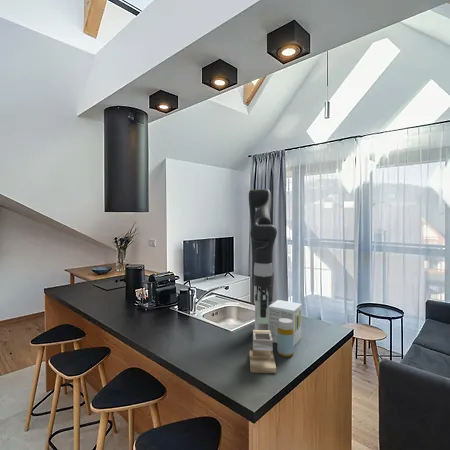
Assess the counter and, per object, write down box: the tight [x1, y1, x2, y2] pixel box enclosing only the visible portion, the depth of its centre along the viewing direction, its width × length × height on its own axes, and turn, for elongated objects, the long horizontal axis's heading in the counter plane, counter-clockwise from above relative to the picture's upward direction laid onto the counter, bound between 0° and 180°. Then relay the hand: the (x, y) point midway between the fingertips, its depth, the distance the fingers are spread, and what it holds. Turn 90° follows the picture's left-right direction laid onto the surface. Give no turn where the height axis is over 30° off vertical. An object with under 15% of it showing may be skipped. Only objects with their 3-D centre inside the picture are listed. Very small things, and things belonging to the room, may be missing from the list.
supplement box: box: [268, 299, 303, 347], centre depth 142 cm, size 13×13×18 cm
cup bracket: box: [249, 329, 277, 374], centre depth 119 cm, size 14×10×12 cm
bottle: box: [276, 318, 295, 358], centre depth 127 cm, size 7×7×15 cm
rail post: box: [257, 294, 268, 324], centre depth 117 cm, size 4×4×12 cm
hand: (262, 315), depth 117 cm, fingers closed on rail post, 4 cm apart
